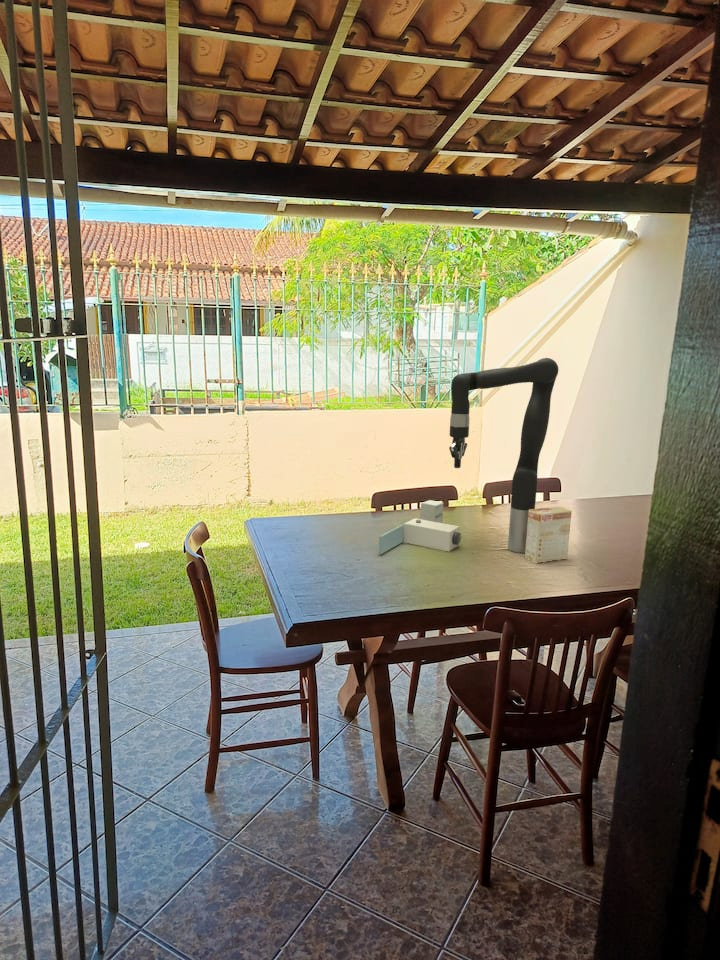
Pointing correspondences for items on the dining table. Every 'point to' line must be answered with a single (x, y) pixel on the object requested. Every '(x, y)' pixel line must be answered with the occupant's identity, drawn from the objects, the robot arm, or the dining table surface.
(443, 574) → the dining table surface
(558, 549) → the coffeecake box
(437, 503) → the supplement box
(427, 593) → the dining table surface
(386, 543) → the door
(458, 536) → the camera housing
